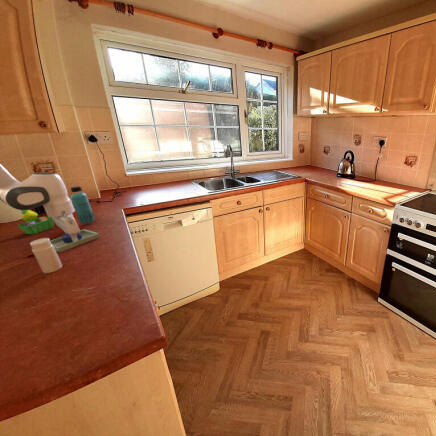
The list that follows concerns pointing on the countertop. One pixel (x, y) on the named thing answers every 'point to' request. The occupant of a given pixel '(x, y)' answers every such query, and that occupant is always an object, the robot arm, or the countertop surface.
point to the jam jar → (46, 255)
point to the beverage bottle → (82, 206)
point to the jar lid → (68, 239)
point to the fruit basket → (34, 222)
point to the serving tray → (86, 237)
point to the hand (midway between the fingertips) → (72, 238)
